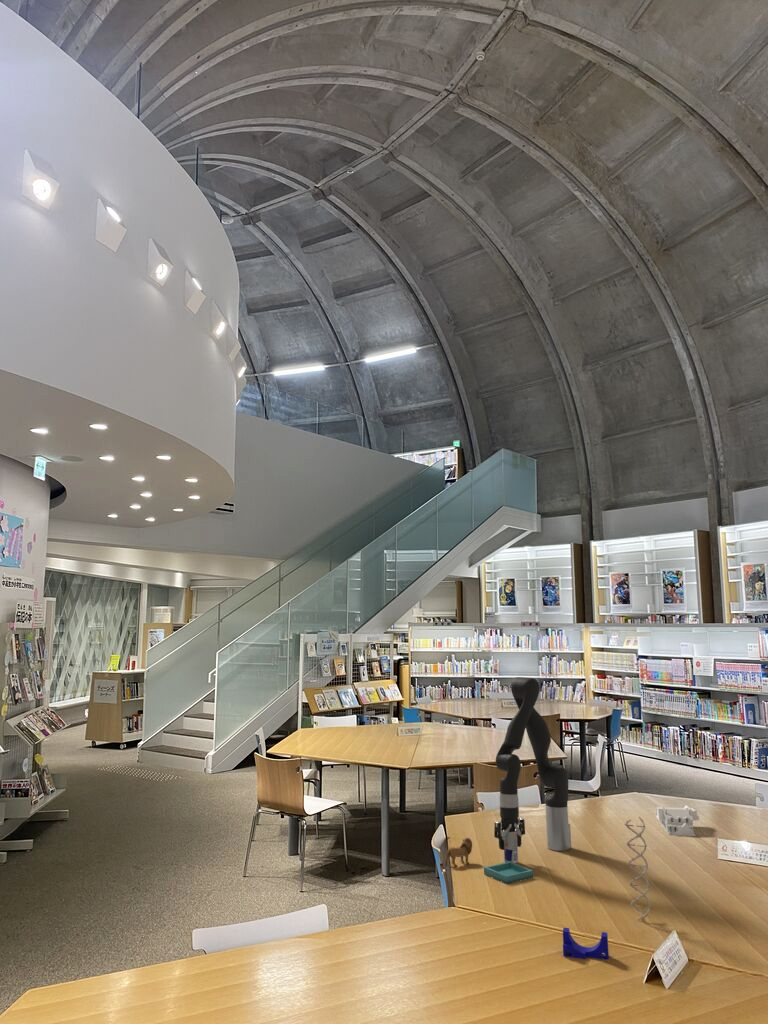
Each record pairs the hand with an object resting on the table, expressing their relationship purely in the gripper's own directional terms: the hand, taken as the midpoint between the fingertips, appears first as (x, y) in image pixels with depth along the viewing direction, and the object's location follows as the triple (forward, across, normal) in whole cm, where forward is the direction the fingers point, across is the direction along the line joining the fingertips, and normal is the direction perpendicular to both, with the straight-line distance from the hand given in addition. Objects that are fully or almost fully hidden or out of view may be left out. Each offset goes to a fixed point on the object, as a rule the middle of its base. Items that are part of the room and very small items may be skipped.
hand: (510, 847), depth 282 cm
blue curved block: (+7, +39, +75) cm, 85 cm away
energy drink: (+6, 0, 0) cm, 6 cm away
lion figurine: (+6, +18, -10) cm, 22 cm away
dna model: (+6, +4, +66) cm, 66 cm away
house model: (+4, -99, +6) cm, 99 cm away
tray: (+6, +12, +12) cm, 17 cm away
